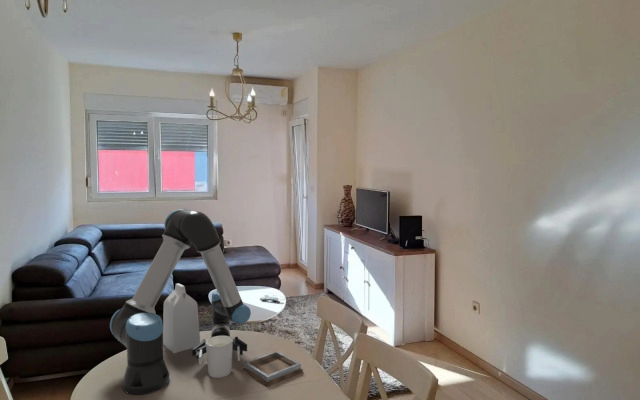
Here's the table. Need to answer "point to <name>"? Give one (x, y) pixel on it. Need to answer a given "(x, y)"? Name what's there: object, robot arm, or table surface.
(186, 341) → the milk
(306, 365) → the table surface
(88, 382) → the table surface
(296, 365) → the grey square frame
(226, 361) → the candle holder
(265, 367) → the walnut plate
